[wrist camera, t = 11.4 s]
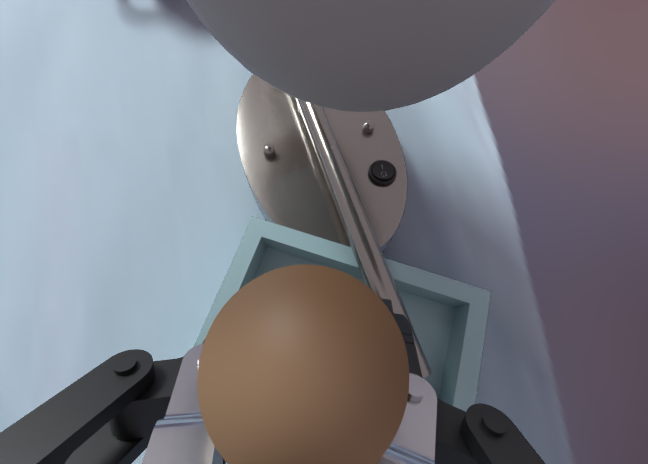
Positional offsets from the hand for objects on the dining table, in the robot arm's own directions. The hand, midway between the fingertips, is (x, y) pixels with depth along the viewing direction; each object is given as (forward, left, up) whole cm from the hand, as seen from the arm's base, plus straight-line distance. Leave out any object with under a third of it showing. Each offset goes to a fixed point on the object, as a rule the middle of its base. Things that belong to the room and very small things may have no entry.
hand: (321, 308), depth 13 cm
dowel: (-2, 0, -5) cm, 5 cm away
